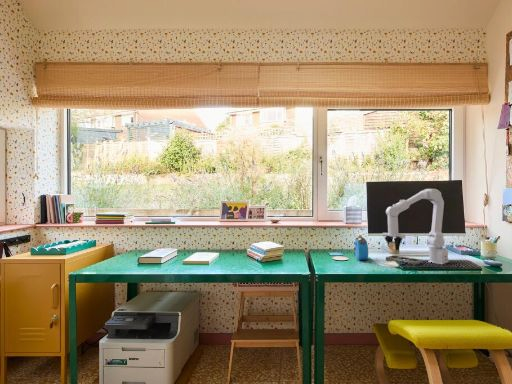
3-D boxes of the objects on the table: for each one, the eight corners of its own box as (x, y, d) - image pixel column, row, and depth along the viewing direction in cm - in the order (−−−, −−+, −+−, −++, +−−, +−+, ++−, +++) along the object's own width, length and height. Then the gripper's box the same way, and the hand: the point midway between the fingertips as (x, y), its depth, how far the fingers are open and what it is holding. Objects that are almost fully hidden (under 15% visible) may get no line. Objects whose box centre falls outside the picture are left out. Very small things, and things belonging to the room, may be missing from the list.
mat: (406, 264, 211) (406, 263, 211) (396, 266, 206) (396, 266, 206) (392, 261, 218) (392, 261, 218) (383, 264, 214) (383, 263, 214)
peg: (399, 253, 212) (399, 242, 211) (395, 254, 209) (394, 243, 209) (393, 252, 215) (393, 241, 215) (389, 253, 213) (389, 242, 213)
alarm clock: (369, 261, 222) (367, 238, 222) (359, 262, 222) (357, 238, 222) (364, 257, 235) (363, 235, 235) (354, 257, 235) (353, 235, 235)
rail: (422, 263, 211) (422, 259, 211) (415, 265, 207) (414, 262, 207) (393, 258, 228) (393, 255, 228) (385, 260, 223) (385, 257, 223)
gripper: (378, 226, 216) (379, 248, 216) (399, 228, 203) (400, 251, 204) (385, 225, 219) (386, 246, 220) (407, 226, 207) (408, 249, 208)
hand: (394, 249), depth 212 cm, fingers closed on peg, 4 cm apart
